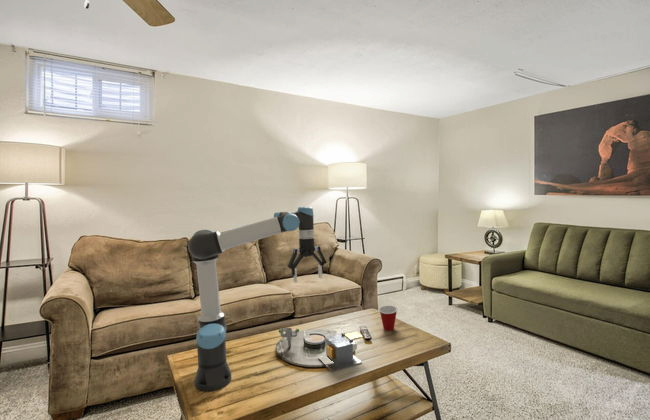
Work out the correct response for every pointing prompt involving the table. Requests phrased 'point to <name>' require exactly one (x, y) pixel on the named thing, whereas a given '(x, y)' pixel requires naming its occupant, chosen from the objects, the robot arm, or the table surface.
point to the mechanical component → (288, 334)
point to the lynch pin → (331, 351)
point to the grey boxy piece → (341, 352)
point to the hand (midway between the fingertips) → (308, 279)
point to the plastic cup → (388, 317)
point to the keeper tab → (353, 336)
